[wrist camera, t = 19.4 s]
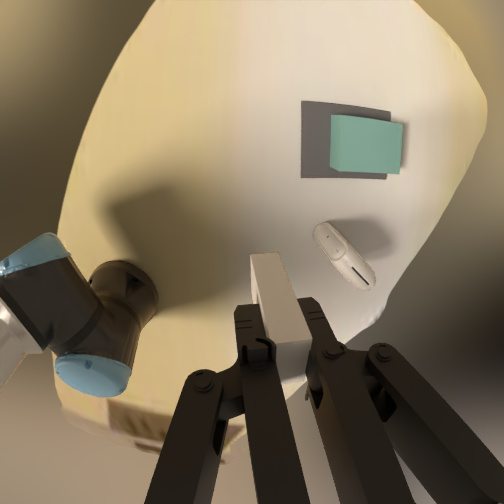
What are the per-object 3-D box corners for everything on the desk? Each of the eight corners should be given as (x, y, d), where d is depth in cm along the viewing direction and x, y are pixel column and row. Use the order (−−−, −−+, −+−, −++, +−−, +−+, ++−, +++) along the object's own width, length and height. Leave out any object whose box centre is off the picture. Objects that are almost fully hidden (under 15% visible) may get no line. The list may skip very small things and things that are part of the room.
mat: (300, 177, 44) (301, 177, 43) (301, 101, 38) (301, 100, 37) (385, 179, 45) (385, 179, 45) (389, 112, 39) (390, 112, 39)
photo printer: (307, 233, 49) (332, 268, 38) (324, 217, 48) (354, 248, 37) (339, 264, 53) (366, 301, 42) (354, 249, 52) (385, 283, 41)
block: (339, 171, 39) (399, 174, 41) (341, 115, 35) (402, 124, 36) (329, 166, 43) (387, 169, 44) (331, 114, 39) (390, 122, 40)
